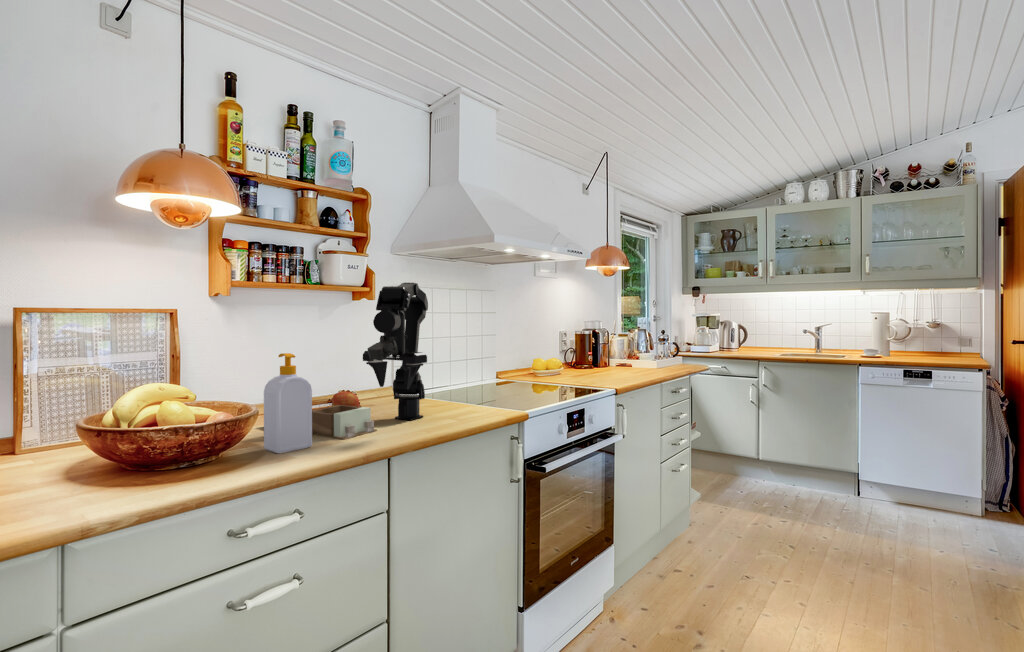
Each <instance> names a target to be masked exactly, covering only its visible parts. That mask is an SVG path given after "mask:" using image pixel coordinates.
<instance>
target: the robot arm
mask: <svg viewBox="0 0 1024 652" xmlns="http://www.w3.org/2000/svg"><path fill="white" fill-rule="evenodd" d="M375 307H376V308H375V310H376V311H378V312H377V313H376V314H375V316H374V319H373V326H374V329H375V330H376V331H377V332H380V334H381V333H382V334H383V335H380V337H379V342H376V343H374V344H372V345H370V346H369V347H368V348H367V350H364V352H363V353H362V362H366V363H365V364H366V365H369V366H370V367H371V368H372V370H373V372H374V375H375V377H376V380H377V383H378V385H379V387H380V388H383V387H384V385H385V382H386V375H387V368H388V361H401V366H400V367H399V368H397V369H396V370H395V377H394V378H395V379H394V380H393V381H392V391H393V400H398V404H397V413H398V414H397V415H396V416H395V417H394V419H397V420H405V421H413V420H417V419H420V418H424V415H423V414H420V400H424V399H425V398H426V396H425V395H426V393H425V391H426V390H425V387H424V384H423V379H422V375H421V374H420V372H419V370H420V368H421V367H423V366H424V363H425V364H426V363H428V356H427V353H426V352H425V351H424V352H423V351H419V340H420V327H421V323H422V322H423V321H424V320H425V318H426V315H427V314H426V313H427V311H428V309H429V302H428V297H427V294H426V293H425V292H424V291H423V290H422V289H421V288H420V287H419V284H418V283H416V282H403V283H401V284H399V285H397V286H391V285H390V286H382V288H381V290H379V293H378V298H377V303H376V306H375ZM386 360H387V361H386Z"/></svg>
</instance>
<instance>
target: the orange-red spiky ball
mask: <svg viewBox="0 0 1024 652" xmlns="http://www.w3.org/2000/svg"><path fill="white" fill-rule="evenodd" d="M337 405H347V406H355V407H360V399H359V397H358V396H357V395H356V393H353V392H350V391H339V392H338V391H337V392H336V393H335V394H333V396H332V401H331V407H332V406H337Z"/></svg>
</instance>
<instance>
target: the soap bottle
mask: <svg viewBox="0 0 1024 652" xmlns="http://www.w3.org/2000/svg"><path fill="white" fill-rule="evenodd" d="M283 357H284V365H279V375H277V376H274V377H273V378H271V379H270V380H268V382H267V383H266V384H265V385H264V389H263V448H264V450H266V451H270V452H271V453H275V454H279V455H280V454H284V453H289V452H293V451H299V450H302V449H304V450H305V449H307V448H308V447H309V448H311V447H312V446H313V434H312V410H313V389H312V385H311V383H310V382H309V381H308V380H307V379H305V378H303V377H300V376H298V375H297V366H296V365H294V364H293V365H292V359H293V358H296V355H295V354H293V353H292V352H291V353H290V352H289V353H288V352H287V353H280V354H278V358H283Z"/></svg>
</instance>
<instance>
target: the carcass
mask: <svg viewBox="0 0 1024 652" xmlns="http://www.w3.org/2000/svg"><path fill="white" fill-rule="evenodd" d="M357 408H362V406H359V407H355V406H347V405H337V406H332V405H331V406H328V407H323V408H318V409H312V435H313V436H314V435H316V436H321V437H327V438H333V439H339V440H345V441H346V440H349V439H351V438H355V437H358V436H362V435H363V436H364V435H366V434H370V433H374V432H377V431H378V428H377V429H376V428H375V421H374V420H370V421H366V422H364V431H362V432H358V433H355V425H350V426H346V427H345V436H343V437H336V436H334V413H339V412H343V411H348V410H353V409H357Z"/></svg>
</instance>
